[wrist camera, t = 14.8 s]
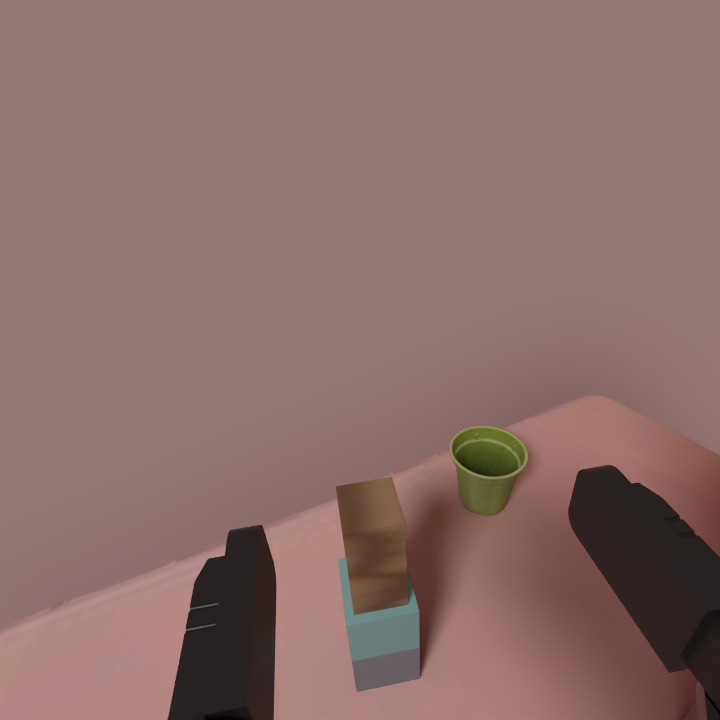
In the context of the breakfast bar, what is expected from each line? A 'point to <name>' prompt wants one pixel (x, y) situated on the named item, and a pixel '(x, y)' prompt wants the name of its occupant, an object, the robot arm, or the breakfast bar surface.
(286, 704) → the breakfast bar surface
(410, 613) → the tower top
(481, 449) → the plant pot
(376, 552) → the walnut pillar
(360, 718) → the breakfast bar surface
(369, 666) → the tower base
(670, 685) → the breakfast bar surface
